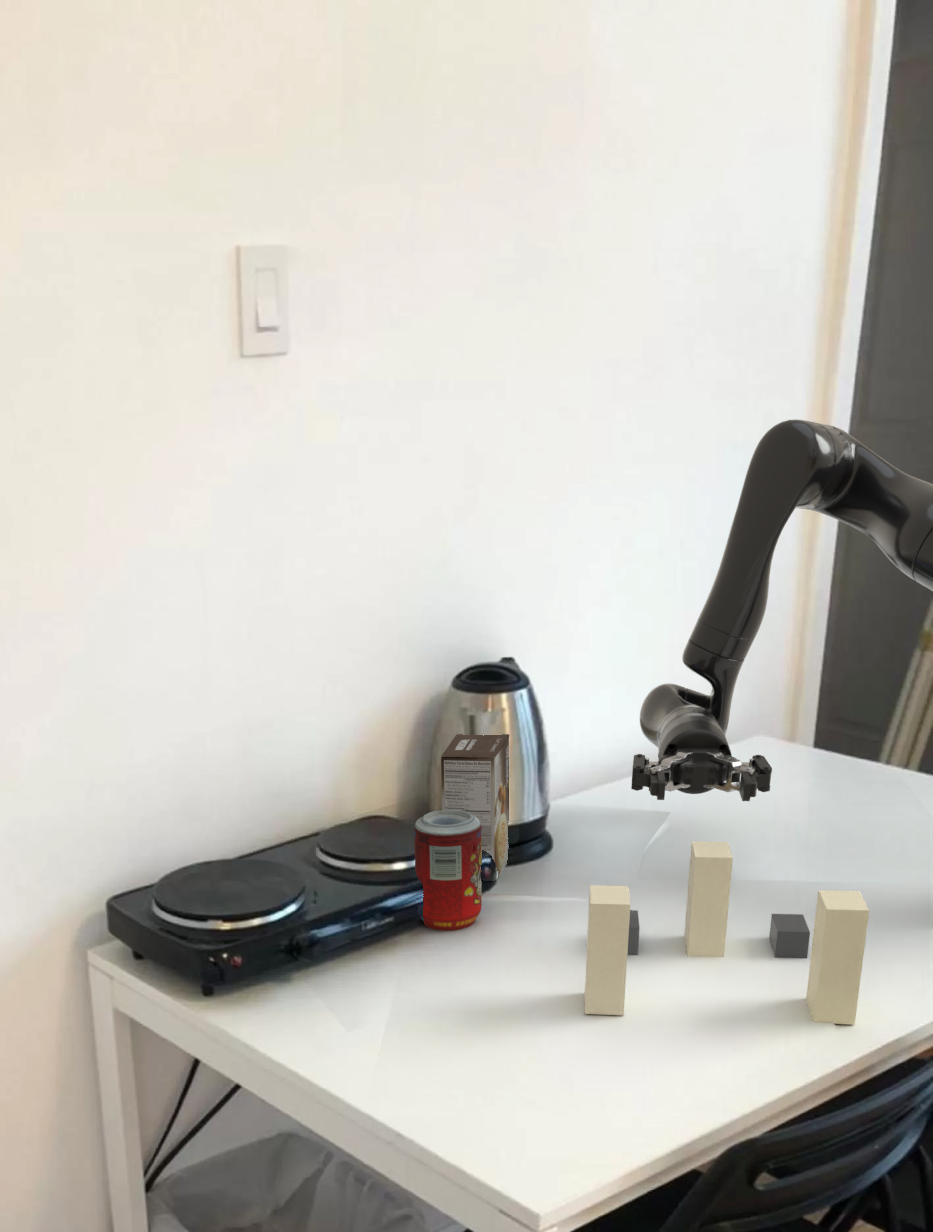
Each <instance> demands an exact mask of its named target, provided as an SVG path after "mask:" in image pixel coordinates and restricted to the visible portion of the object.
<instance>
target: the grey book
mask: <svg viewBox="0 0 933 1232" xmlns="http://www.w3.org/2000/svg"><path fill="white" fill-rule="evenodd" d="M640 928H641V927H640V919H639V911H638V910H637V909H630V919H629V935H628V952H627V956H639V945H640V943H639V942H640V930H641V929H640Z"/></svg>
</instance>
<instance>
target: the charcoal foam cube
mask: <svg viewBox="0 0 933 1232" xmlns="http://www.w3.org/2000/svg"><path fill="white" fill-rule="evenodd" d="M768 937H769V943H770V945H771V949H772V953H773V956H774V958H776V959H808V955H809V945H810V939H811V938H810V937H811V931H810V928H809V926H808V924H807V921H806V918H805V915H804V914H800V913H799V914H797V913H771V917H770V927H769V936H768Z"/></svg>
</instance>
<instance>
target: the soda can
mask: <svg viewBox="0 0 933 1232" xmlns="http://www.w3.org/2000/svg"><path fill="white" fill-rule="evenodd" d="M481 830H482V826H481V822H480V820H479V819H478V818H477V817H475V816H474V815H472V814H471V813H470V812H466V811H461V810H456V809H450V810H442V809H441V810H433V811H430V812H428V813H425V814H424V815H423V816H421V817H419V818H418V819H417V820H416V821H415V823H414V826H413V833H414V834H413V835H414V872H415V871H416V874H417V877H418V879H419V880H420V881H421V883H422V884H423V889H424V890H423V891H424V892H423V894H424V895H423V896H424V897H423V902H424V903H423V904H424V905H423V918H424V924H423V925H424V926H425V927H427V928H428V929H432V930H435V931H442V932H443V931H444V932H450V931H452V932H453V931H461V930H463V929H464V930H465V929H467V928H469V927H471V926H473V925H474V924H475V922H476V920H477V918H478V917H479V915H480V914H481V911H482V905H483V904H482V903H483V902H482V881H481V872H482V871H481V865H482V860H481V859H482V848H481V843H482V834H481Z"/></svg>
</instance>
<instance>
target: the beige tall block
mask: <svg viewBox="0 0 933 1232" xmlns="http://www.w3.org/2000/svg"><path fill="white" fill-rule="evenodd" d="M815 908H816V909H815V915H814V916H815V917H814V925H813V934H812V943H811V951H810V959H809V960H810V961H809V970H808V980H807V988H806V996H805V999H806V1003H807V1005H808V1009H809V1012H810V1015H811V1019H812V1021H813V1023H833V1024H834V1025H853V1026H854V1025H855V1024H856V1020H857V1019H856V1017H857V1010H858V1004H859V1003H858V1001H859V994H860V987H861V986H860V985H861V979H862V970H863V962H864V954H865V946H866V940H867V933H868V932H867V931H868V925H869V917H870V916H869V915H870V909H869V907H868V905H867V903H866V901H865V899H864V897H863V895H862V893H861V891H860V890H822V889H821V890H820V889H819V890H818V891H817V899H816V906H815Z"/></svg>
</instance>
